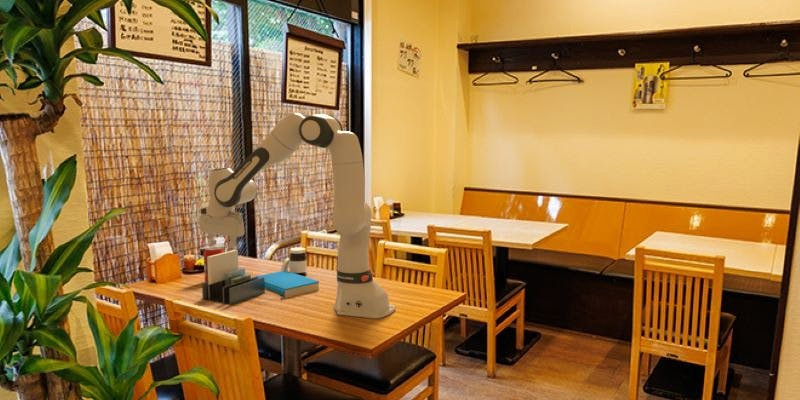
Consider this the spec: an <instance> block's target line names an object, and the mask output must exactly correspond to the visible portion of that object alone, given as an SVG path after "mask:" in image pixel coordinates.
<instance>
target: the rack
mask: <svg viewBox="0 0 800 400" xmlns="http://www.w3.org/2000/svg"><path fill="white" fill-rule="evenodd" d="M258 276H259V275H256V277H255V276H252V275H251V274H250V273H249V274H248V273H247V274H246V268H244V267H243V268H238V269H237V270H234V271H231V272H227V273H225V280H222V281H219V282H216V283H212V284H209V285H208V282H203V283H201V291H202V292H201V293H202V298H201V300H204V301H208V302H214V303H218V304H222V305H223V304H224V305H228V306H235V305H237V304H240V303H241V302H242V303H243V302H245V301H248V300H250V299H253V298H256V297H259V296H261V295H265V294H266V291H265V290H266V288H265V280H264V277H263V278H260V279H258ZM252 277H253V278H252Z"/></svg>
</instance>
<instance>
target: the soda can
mask: <svg viewBox="0 0 800 400" xmlns="http://www.w3.org/2000/svg"><path fill="white" fill-rule="evenodd" d="M220 253H224V251H223V249H222V247H221V246H207V247H205V250H204V252H203V267H204V273H203V274H204V283H206V282H208V263H207V257H208V256H212V255H216V254H220Z"/></svg>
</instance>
